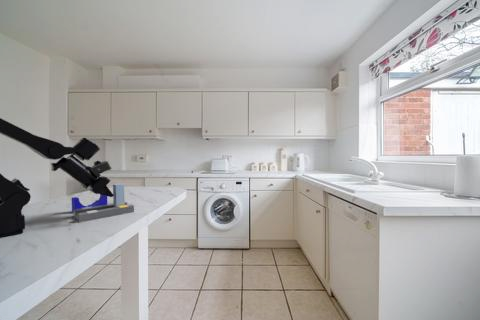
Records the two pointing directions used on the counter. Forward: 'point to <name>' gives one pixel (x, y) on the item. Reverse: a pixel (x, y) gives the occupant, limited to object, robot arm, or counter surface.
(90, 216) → the switch housing
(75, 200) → the cable clip
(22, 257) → the counter surface
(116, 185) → the tab
